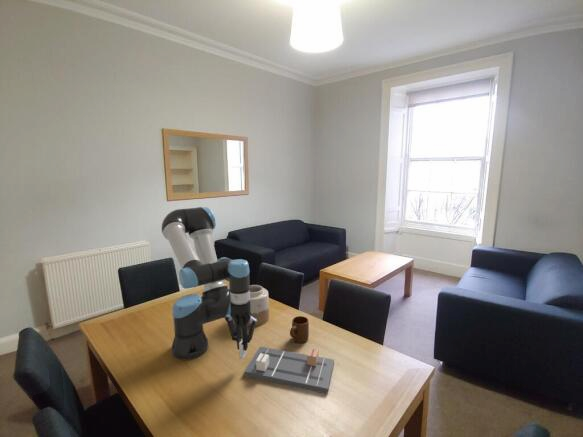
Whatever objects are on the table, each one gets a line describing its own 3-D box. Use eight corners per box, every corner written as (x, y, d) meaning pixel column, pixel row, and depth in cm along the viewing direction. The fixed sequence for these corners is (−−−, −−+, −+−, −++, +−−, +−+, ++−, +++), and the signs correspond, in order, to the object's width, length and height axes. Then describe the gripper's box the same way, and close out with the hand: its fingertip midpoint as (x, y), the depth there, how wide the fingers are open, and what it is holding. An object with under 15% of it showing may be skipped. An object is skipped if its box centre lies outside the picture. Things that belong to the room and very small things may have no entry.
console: (244, 376, 112) (244, 371, 111) (260, 350, 127) (260, 346, 126) (327, 393, 103) (327, 388, 102) (334, 364, 118) (334, 359, 118)
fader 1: (256, 369, 112) (256, 359, 111) (260, 362, 116) (260, 352, 115) (265, 371, 111) (264, 361, 110) (269, 363, 115) (269, 354, 114)
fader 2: (307, 364, 114) (307, 355, 114) (309, 357, 118) (309, 348, 118) (316, 366, 113) (316, 356, 113) (318, 359, 118) (318, 349, 117)
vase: (274, 316, 155) (274, 286, 152) (256, 329, 142) (255, 298, 139) (252, 308, 163) (251, 280, 160) (233, 321, 151) (231, 290, 147)
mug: (298, 351, 126) (298, 331, 125) (283, 345, 130) (283, 326, 128) (311, 337, 136) (311, 318, 134) (297, 332, 140) (297, 314, 138)
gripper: (219, 303, 109) (223, 360, 113) (252, 307, 105) (254, 365, 109) (229, 294, 116) (232, 348, 120) (260, 298, 112) (261, 353, 117)
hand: (242, 356), depth 115 cm, fingers closed
